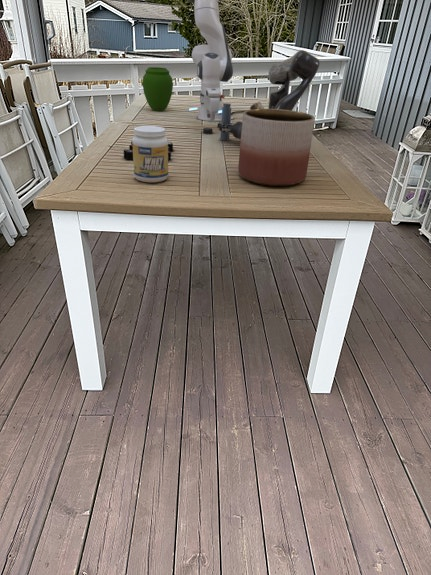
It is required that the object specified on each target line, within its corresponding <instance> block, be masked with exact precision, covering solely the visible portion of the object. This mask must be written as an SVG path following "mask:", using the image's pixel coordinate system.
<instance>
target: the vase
mask: <svg viewBox="0 0 431 575" xmlns="http://www.w3.org/2000/svg"><path fill="white" fill-rule="evenodd" d="M141 84H142V89H143V94H144V97H145V100H146V102H147V104H148V107H149V108H150V109H151V110H152V111H154V112H164V111H165V110H166V109H167V108H168V106H169V104H170V102H171V99H172V95H173V88H174V82H173V77H172V76H171V74H170V70H169V69H167V67H155V66H154V67H151V66H149V67H148V68H147V69H145V73H144V74H143V76H142V81H141Z"/></svg>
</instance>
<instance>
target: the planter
mask: <svg viewBox="0 0 431 575" xmlns="http://www.w3.org/2000/svg"><path fill="white" fill-rule="evenodd" d="M244 111H245V112H242V121H241V122H242V132H241V139H240V144H239V145H240V146H239V156H238V166H237V168H238V169H237V170H238V171H237V172H238V174H239V175H240V177H241V178H243V179H245V181H248V182H251V183H254V184H256V185H262V186H269V187H288V186H295V185H297V184H300V183H302V182H303V181H305V179H306V177H307V174H308V167H309V161H310V154H311V146H312V140H313V134H314V128H315V121H316V116H314V115H312V114H310V113H306V112H302V111H297V110H292V111H291V110H282V109H268V108H264V109H252V110H250V109H247V110H244Z"/></svg>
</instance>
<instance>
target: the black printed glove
mask: <svg viewBox="0 0 431 575" xmlns="http://www.w3.org/2000/svg"><path fill="white" fill-rule="evenodd" d="M128 148H129V149H123V158H124V159H126V160H127V161H133V145H132V140H131V143H130V145H129V147H128ZM172 152H174V143H173V142H172V141H168V161H171V160H172Z"/></svg>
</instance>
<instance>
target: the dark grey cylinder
mask: <svg viewBox="0 0 431 575" xmlns="http://www.w3.org/2000/svg"><path fill="white" fill-rule="evenodd" d="M231 105H232V104H231V103H230V102H223V107H222V119H221V121H220V123H221V124H230V123H232V122H231V120H232V119H231V116H232V115H231V113H232V106H231ZM230 134H231V133H230V132H225V133H223V132H221V131H220V141H223V142H229V141H230Z"/></svg>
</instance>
